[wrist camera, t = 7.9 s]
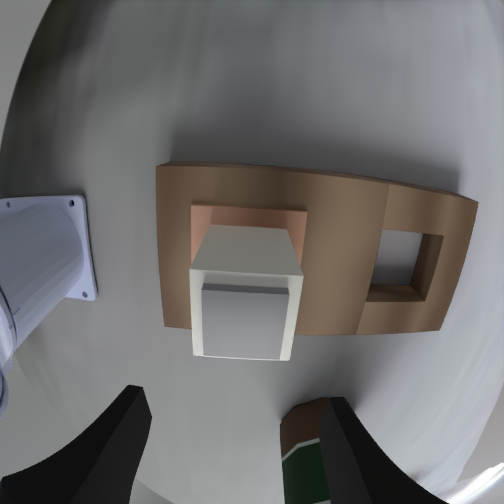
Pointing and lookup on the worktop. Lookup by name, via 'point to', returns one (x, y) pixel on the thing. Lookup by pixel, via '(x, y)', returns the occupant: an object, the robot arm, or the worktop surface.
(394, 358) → the worktop surface
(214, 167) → the brown wooden flat block
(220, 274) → the plug
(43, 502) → the robot arm
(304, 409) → the beer bottle
